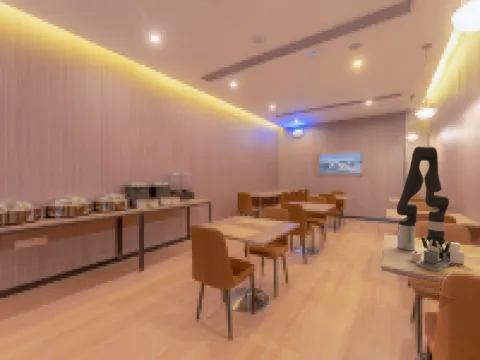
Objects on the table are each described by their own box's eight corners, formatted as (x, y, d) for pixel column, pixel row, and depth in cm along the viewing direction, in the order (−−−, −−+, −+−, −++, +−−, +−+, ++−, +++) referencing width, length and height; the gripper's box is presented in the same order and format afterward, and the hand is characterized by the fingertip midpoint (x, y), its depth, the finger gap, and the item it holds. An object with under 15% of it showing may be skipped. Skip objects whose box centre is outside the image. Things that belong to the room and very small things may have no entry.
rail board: (415, 265, 132) (416, 250, 132) (433, 258, 143) (433, 244, 142) (437, 271, 123) (437, 255, 123) (453, 264, 134) (454, 249, 134)
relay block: (411, 260, 139) (411, 251, 139) (412, 258, 142) (412, 249, 142) (419, 262, 136) (419, 253, 136) (420, 260, 139) (420, 251, 139)
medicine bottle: (442, 258, 142) (443, 240, 142) (456, 259, 140) (457, 241, 140) (449, 262, 136) (450, 243, 135) (464, 264, 134) (464, 244, 133)
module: (428, 258, 134) (428, 245, 134) (432, 257, 136) (432, 243, 136) (437, 261, 130) (438, 247, 130) (441, 259, 132) (442, 246, 132)
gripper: (418, 226, 137) (418, 254, 137) (448, 232, 124) (448, 262, 125) (424, 225, 141) (423, 252, 141) (454, 230, 128) (453, 260, 128)
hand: (435, 257), depth 133 cm, fingers open, 4 cm apart
